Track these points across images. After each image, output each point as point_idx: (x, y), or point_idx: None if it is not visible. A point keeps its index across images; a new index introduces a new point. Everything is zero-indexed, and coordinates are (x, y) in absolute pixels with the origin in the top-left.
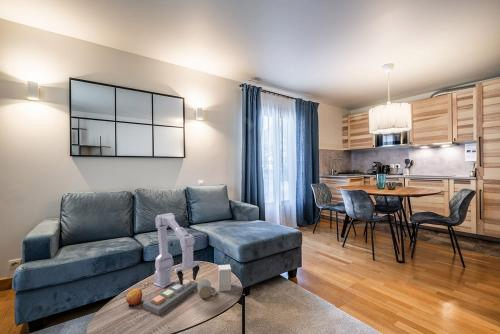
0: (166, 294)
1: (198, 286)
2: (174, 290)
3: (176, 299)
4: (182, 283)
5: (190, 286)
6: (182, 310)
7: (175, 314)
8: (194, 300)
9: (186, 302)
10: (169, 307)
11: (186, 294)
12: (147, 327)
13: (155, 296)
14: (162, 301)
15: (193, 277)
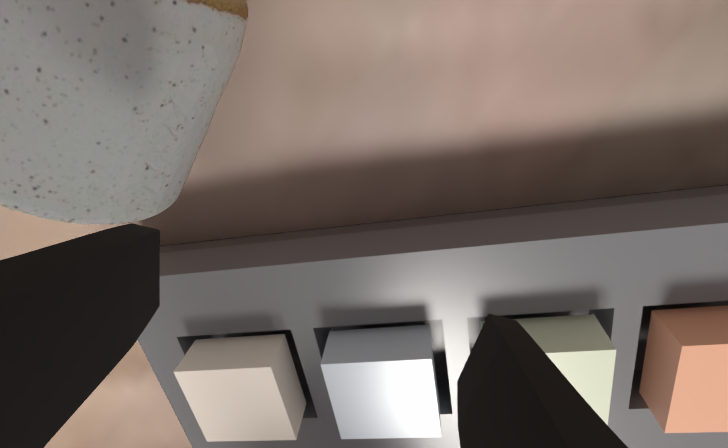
0: (607, 375)
1: (160, 149)
2: (434, 374)
3: (523, 230)
4: (505, 332)
5: (229, 297)
6: (597, 5)
7: (723, 8)
8: (331, 68)
9: (428, 121)
10: (642, 197)
11: (338, 236)
12: None
13: (634, 443)
14: (699, 316)
15: (127, 317)
